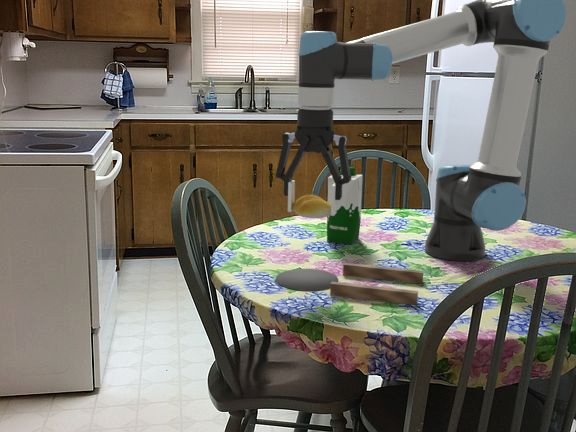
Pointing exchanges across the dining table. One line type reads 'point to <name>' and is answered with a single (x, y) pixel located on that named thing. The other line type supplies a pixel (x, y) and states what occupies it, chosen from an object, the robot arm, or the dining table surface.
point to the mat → (306, 279)
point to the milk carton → (346, 210)
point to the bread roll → (312, 207)
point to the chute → (375, 291)
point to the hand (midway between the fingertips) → (312, 212)
